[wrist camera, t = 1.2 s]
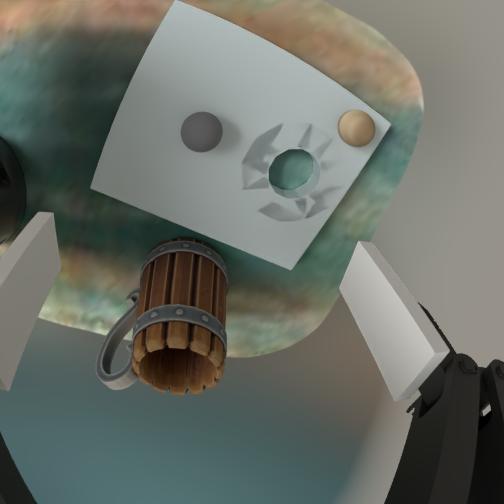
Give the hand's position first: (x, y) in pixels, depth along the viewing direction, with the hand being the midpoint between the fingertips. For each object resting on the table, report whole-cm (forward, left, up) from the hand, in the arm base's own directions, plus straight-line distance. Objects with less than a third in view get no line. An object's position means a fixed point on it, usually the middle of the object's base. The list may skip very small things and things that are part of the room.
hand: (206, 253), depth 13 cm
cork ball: (+11, +8, -16) cm, 21 cm away
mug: (+3, -18, -21) cm, 28 cm away
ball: (-1, +1, -16) cm, 16 cm away
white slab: (+3, +1, -21) cm, 21 cm away
